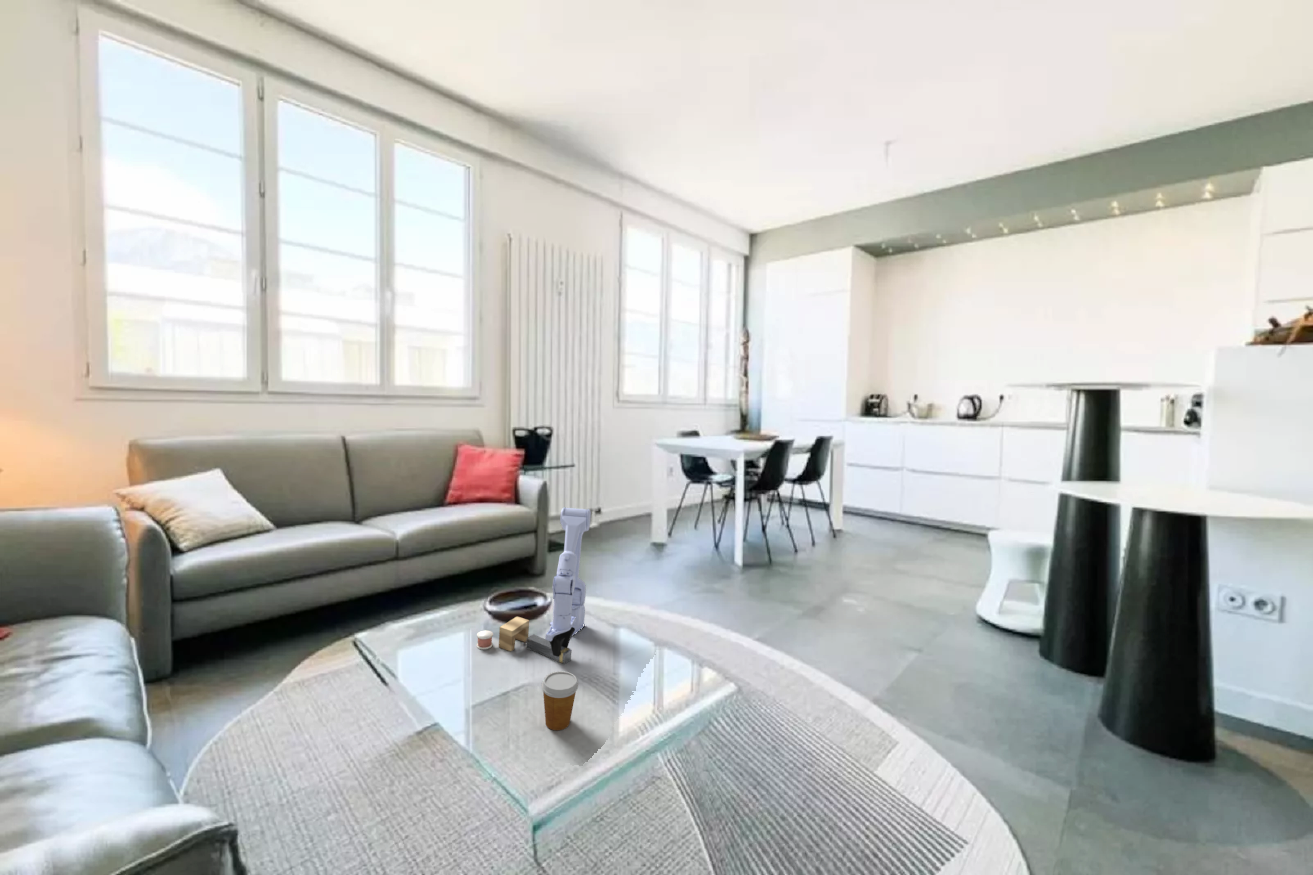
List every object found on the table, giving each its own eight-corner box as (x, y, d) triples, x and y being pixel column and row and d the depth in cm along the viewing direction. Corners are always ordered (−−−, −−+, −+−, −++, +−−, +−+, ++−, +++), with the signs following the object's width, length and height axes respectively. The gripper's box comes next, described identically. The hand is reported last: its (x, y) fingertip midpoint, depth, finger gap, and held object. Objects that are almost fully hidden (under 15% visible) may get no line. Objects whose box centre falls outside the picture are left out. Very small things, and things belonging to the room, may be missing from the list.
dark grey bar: (533, 644, 186) (533, 634, 185) (571, 659, 178) (571, 649, 178) (526, 648, 183) (526, 637, 183) (564, 664, 175) (565, 653, 175)
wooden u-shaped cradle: (516, 635, 190) (517, 616, 189) (528, 639, 188) (529, 620, 187) (498, 647, 182) (499, 627, 181) (511, 651, 180) (512, 631, 179)
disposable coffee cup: (559, 707, 154) (562, 666, 152) (583, 723, 148) (586, 680, 146) (531, 722, 146) (533, 679, 145) (555, 740, 140) (558, 695, 139)
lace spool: (483, 640, 186) (484, 629, 185) (495, 644, 184) (496, 632, 183) (473, 646, 181) (473, 635, 181) (485, 651, 179) (485, 639, 179)
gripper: (564, 600, 184) (561, 639, 186) (538, 617, 171) (535, 659, 173) (582, 606, 182) (580, 645, 183) (557, 623, 168) (555, 665, 170)
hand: (559, 652), depth 178 cm, fingers closed on dark grey bar, 3 cm apart
